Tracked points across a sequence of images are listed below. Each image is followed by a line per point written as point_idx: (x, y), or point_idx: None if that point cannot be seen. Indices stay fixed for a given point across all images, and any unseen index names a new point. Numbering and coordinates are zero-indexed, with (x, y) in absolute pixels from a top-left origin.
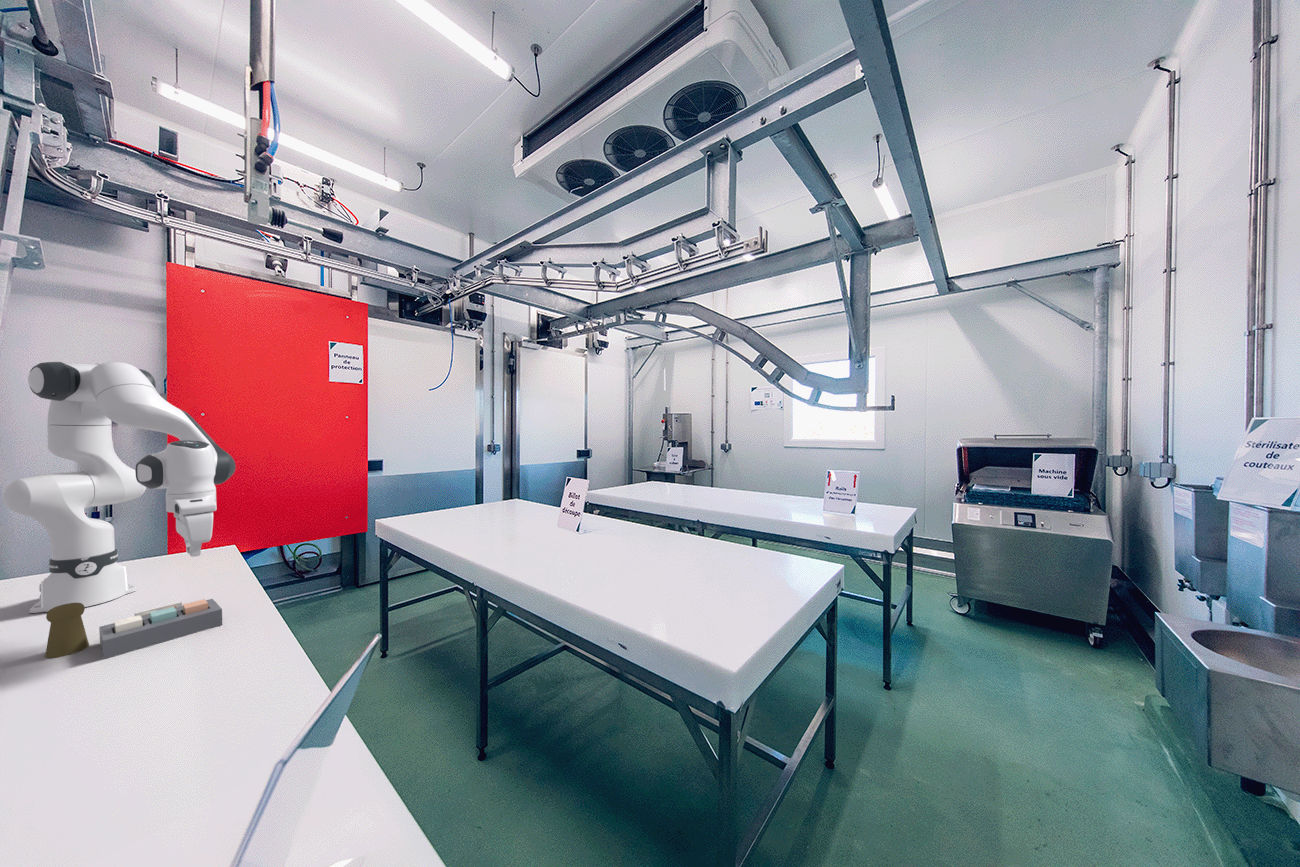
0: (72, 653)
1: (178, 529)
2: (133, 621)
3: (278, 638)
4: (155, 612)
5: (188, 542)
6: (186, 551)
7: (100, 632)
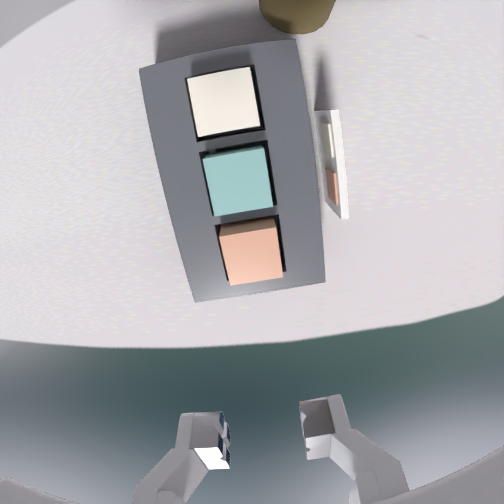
0: (261, 12)
1: (489, 500)
2: (197, 116)
3: (63, 340)
4: (250, 163)
5: (352, 461)
6: (336, 400)
7: (241, 45)
